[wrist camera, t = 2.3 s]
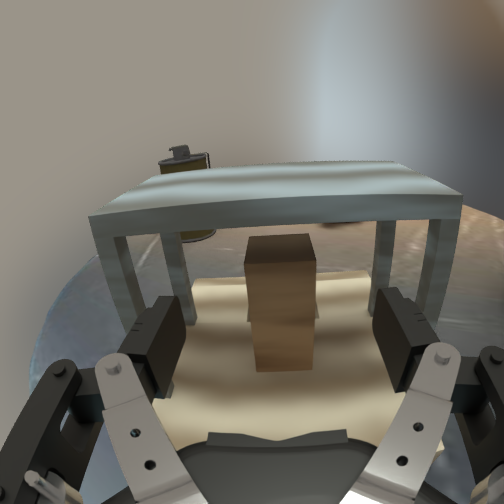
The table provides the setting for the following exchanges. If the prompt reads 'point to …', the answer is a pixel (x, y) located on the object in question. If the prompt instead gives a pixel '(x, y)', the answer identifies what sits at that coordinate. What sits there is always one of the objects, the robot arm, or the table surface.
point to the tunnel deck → (236, 300)
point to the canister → (182, 164)
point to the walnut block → (281, 301)
